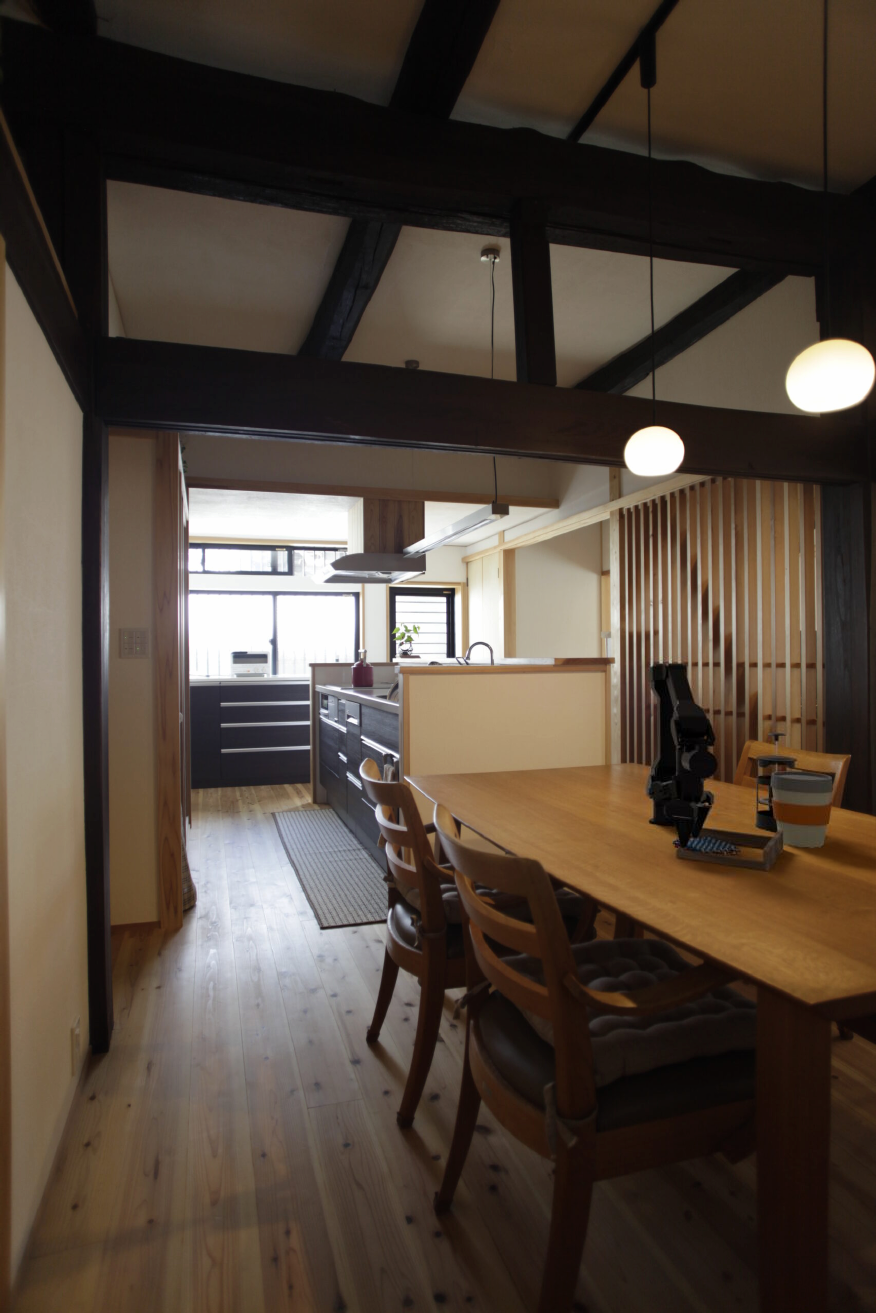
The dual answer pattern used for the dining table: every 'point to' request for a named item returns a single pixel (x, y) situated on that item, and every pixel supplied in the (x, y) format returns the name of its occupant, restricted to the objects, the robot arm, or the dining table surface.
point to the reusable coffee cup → (802, 806)
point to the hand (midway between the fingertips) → (689, 842)
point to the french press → (767, 816)
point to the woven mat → (708, 846)
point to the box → (769, 843)
